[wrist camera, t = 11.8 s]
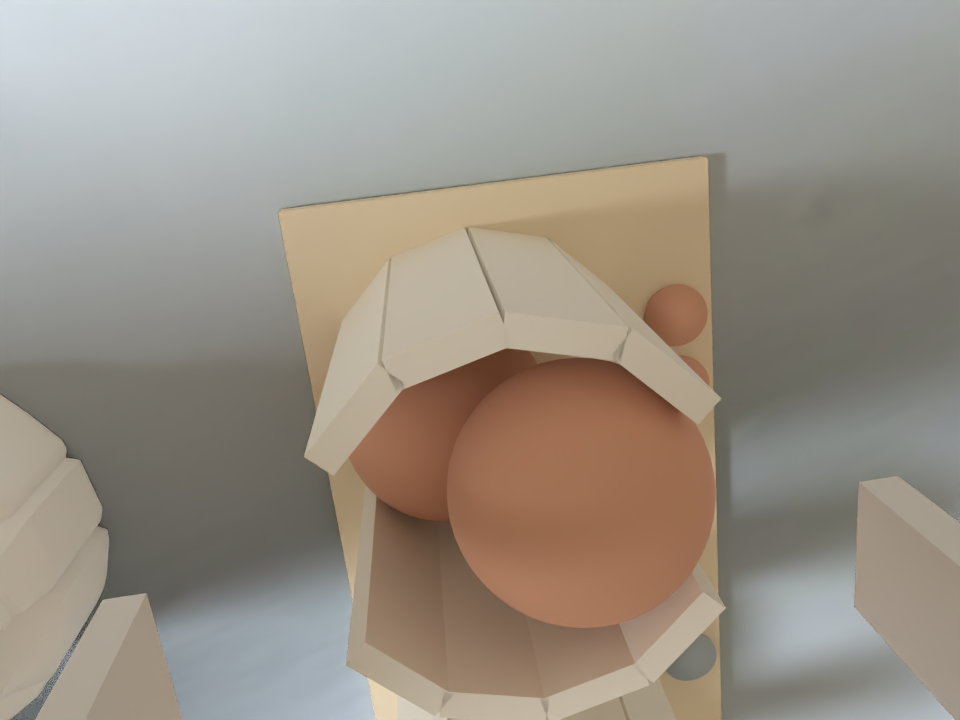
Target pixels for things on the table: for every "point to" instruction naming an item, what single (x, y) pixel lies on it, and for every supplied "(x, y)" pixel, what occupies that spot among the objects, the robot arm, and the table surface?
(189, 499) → the table surface
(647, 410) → the ball terracotta loose
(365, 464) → the ball terracotta in tube
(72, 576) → the decorative vase
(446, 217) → the tube rack
